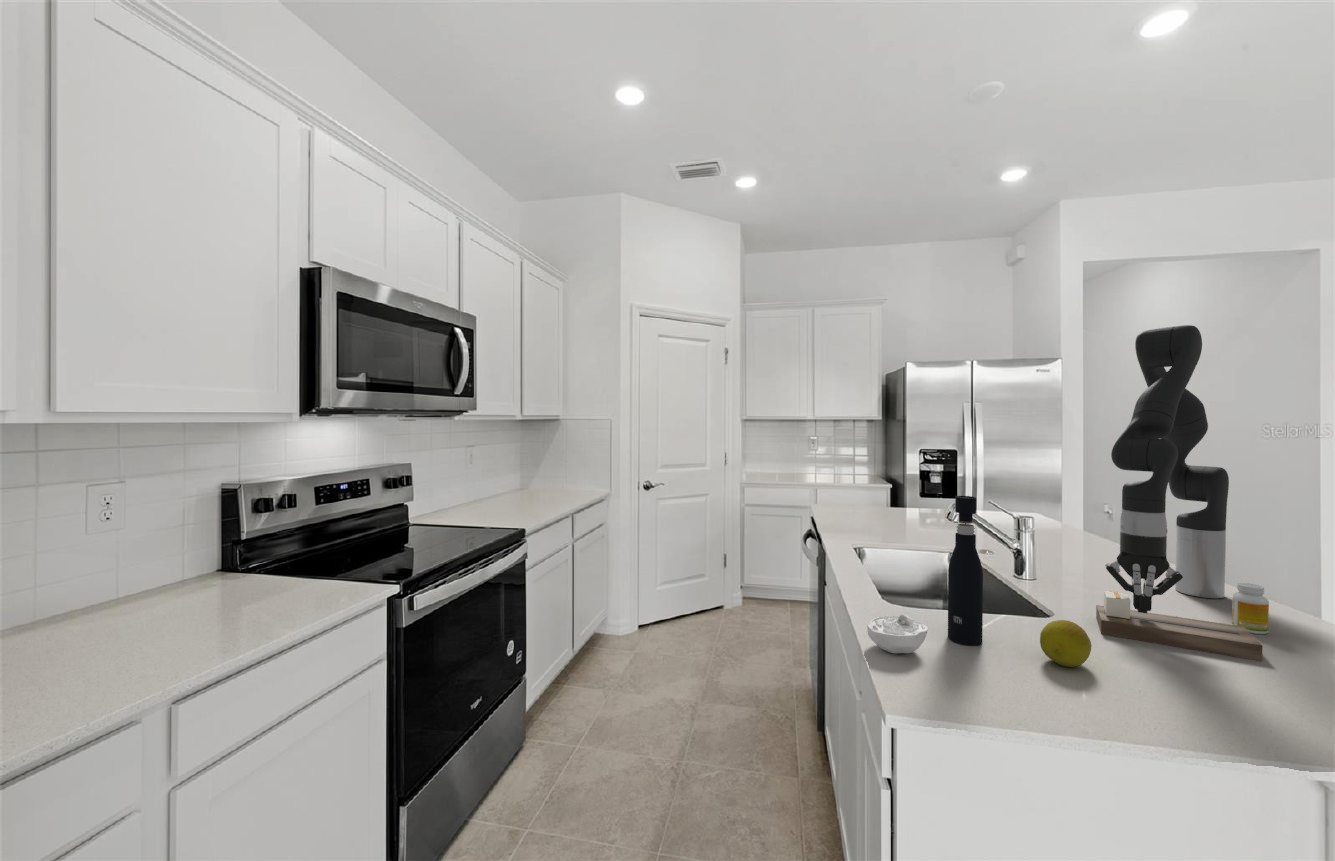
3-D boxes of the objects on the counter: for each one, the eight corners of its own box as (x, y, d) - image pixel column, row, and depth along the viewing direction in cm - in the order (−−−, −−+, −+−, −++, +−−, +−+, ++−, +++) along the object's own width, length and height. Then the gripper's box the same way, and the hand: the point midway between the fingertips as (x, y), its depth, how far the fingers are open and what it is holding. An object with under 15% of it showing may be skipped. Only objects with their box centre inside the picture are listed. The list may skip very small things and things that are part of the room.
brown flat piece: (1096, 617, 126) (1096, 604, 126) (1243, 641, 113) (1243, 625, 113) (1101, 633, 117) (1101, 619, 117) (1262, 661, 104) (1262, 644, 103)
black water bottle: (978, 635, 116) (979, 495, 116) (985, 647, 110) (986, 499, 110) (945, 631, 119) (946, 494, 118) (950, 643, 112) (951, 498, 112)
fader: (1103, 608, 123) (1104, 589, 123) (1126, 611, 121) (1127, 593, 121) (1106, 615, 119) (1106, 596, 119) (1130, 618, 116) (1130, 599, 116)
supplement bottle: (1275, 635, 115) (1276, 590, 115) (1245, 633, 116) (1246, 588, 116) (1254, 626, 121) (1255, 582, 120) (1225, 624, 122) (1226, 581, 121)
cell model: (855, 643, 113) (855, 610, 113) (905, 637, 116) (905, 605, 116) (886, 664, 103) (886, 629, 103) (940, 657, 106) (940, 622, 106)
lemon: (1078, 679, 97) (1079, 634, 97) (1029, 663, 103) (1030, 621, 103) (1101, 663, 103) (1101, 621, 103) (1053, 649, 110) (1054, 609, 109)
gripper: (1180, 531, 116) (1179, 612, 117) (1101, 525, 124) (1100, 601, 124) (1189, 538, 110) (1188, 623, 111) (1105, 531, 117) (1104, 611, 118)
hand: (1141, 611), depth 117 cm, fingers closed
